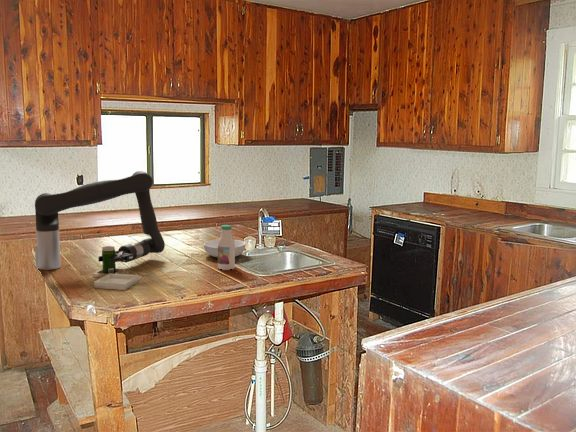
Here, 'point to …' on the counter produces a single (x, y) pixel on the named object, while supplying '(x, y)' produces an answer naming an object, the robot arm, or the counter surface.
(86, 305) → the counter surface
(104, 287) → the tray
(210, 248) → the serving bowl
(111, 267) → the beer can
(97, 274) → the collar
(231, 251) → the milk bottle
